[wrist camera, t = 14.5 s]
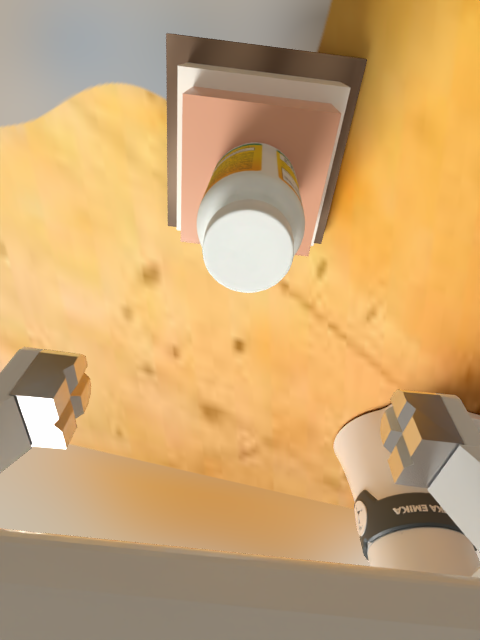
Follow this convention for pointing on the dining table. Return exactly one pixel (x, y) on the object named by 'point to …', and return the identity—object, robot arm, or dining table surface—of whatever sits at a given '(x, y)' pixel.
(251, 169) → the supplement bottle
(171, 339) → the dining table surface
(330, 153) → the pink white stepped block
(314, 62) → the baseplate
